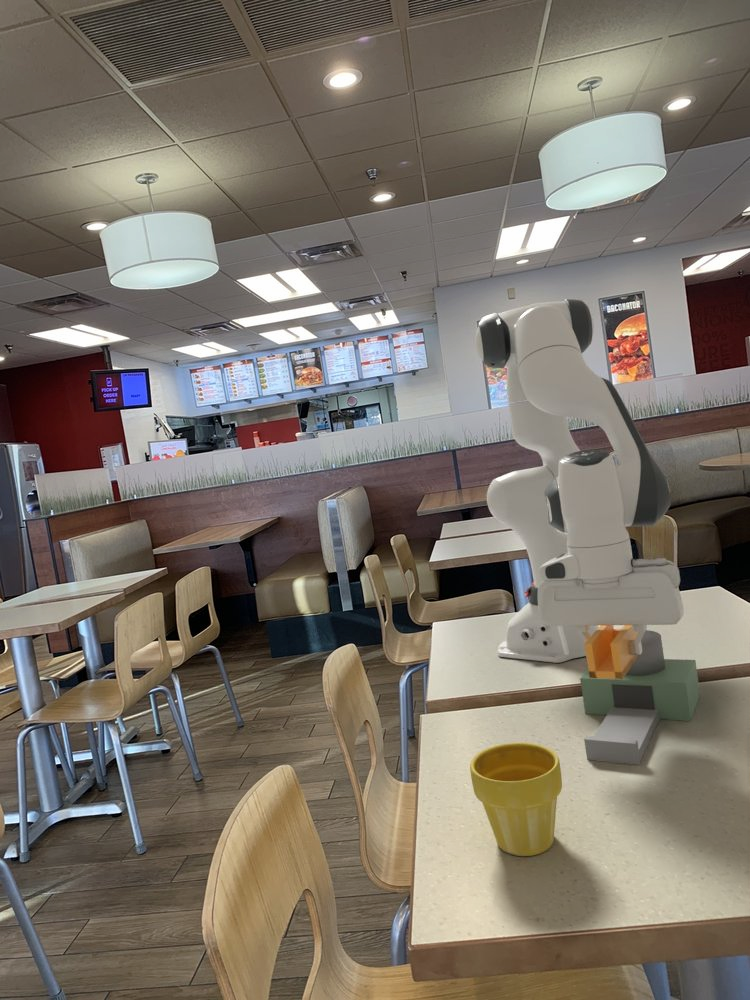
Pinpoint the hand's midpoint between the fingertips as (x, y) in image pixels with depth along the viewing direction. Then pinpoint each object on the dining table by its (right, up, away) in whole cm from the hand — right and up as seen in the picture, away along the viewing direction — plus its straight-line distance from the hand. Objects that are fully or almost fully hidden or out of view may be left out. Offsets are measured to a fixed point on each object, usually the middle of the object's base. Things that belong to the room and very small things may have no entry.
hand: (614, 653), depth 102 cm
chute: (0, -2, 0) cm, 2 cm away
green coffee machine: (+4, -12, +5) cm, 14 cm away
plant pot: (-17, -18, -20) cm, 32 cm away
